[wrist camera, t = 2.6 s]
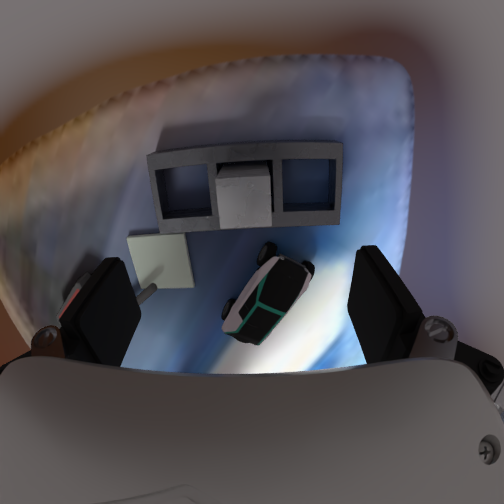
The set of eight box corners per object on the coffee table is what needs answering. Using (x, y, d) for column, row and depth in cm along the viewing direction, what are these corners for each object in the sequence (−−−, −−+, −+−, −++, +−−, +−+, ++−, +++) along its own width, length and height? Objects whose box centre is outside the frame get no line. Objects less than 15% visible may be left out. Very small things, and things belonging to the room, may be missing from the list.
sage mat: (194, 284, 32) (194, 287, 32) (142, 285, 33) (141, 288, 32) (184, 231, 29) (183, 233, 28) (128, 235, 29) (126, 237, 29)
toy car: (220, 310, 35) (216, 340, 30) (268, 236, 30) (271, 261, 25) (260, 326, 36) (261, 356, 31) (312, 259, 31) (322, 286, 26)
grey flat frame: (335, 140, 24) (342, 143, 22) (332, 215, 28) (339, 224, 26) (155, 151, 25) (146, 155, 23) (166, 224, 29) (160, 233, 26)
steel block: (267, 199, 27) (271, 226, 21) (228, 201, 27) (220, 228, 21) (265, 160, 25) (269, 175, 19) (224, 163, 26) (215, 179, 19)
